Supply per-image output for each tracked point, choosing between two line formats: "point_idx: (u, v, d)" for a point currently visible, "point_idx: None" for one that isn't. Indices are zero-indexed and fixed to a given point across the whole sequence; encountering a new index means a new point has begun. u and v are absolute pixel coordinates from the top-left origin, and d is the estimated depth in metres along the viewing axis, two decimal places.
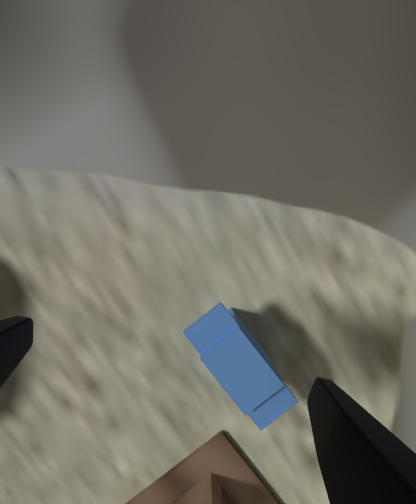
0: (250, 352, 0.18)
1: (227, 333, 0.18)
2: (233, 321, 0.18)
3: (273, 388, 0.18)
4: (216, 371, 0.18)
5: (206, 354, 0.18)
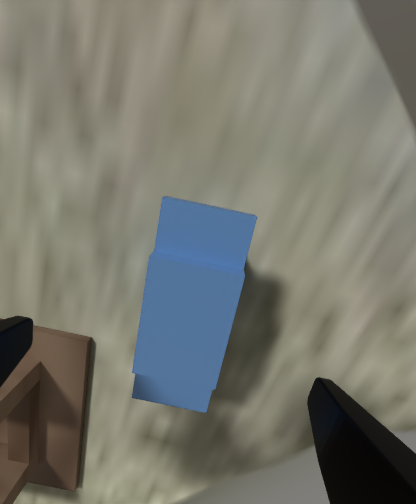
0: (222, 317, 0.10)
1: (218, 263, 0.10)
2: (244, 257, 0.10)
3: (199, 380, 0.10)
4: (153, 292, 0.09)
5: (164, 258, 0.09)
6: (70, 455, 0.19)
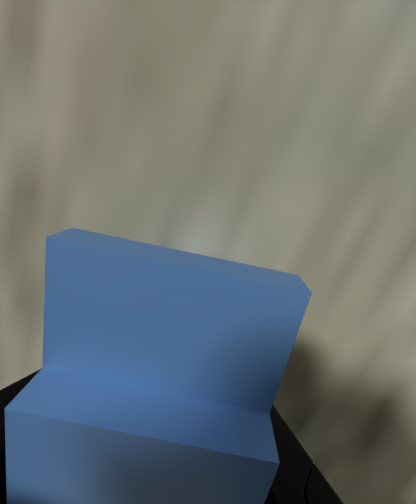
0: None
1: (207, 400, 0.04)
2: (271, 388, 0.04)
3: None
4: (30, 490, 0.04)
5: (50, 410, 0.03)
6: None
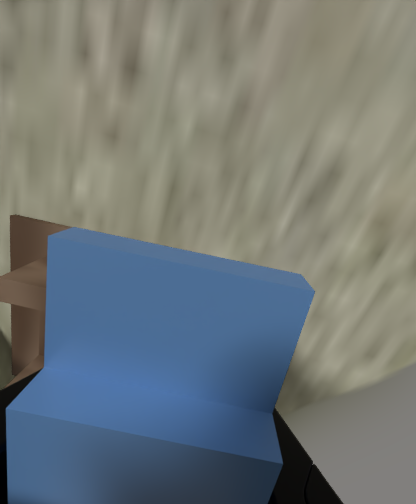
0: None
1: (209, 400, 0.04)
2: (274, 388, 0.04)
3: None
4: (31, 490, 0.03)
5: (52, 411, 0.03)
6: None
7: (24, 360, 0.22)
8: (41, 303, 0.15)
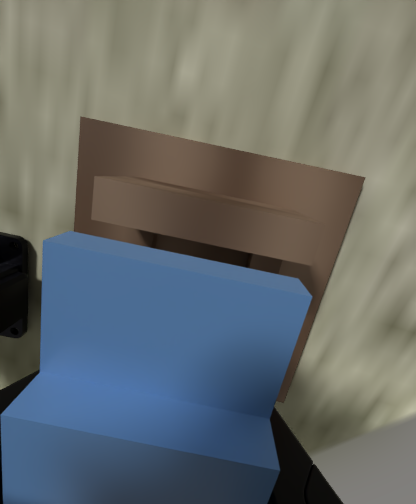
0: None
1: (206, 405, 0.04)
2: (271, 393, 0.04)
3: None
4: (27, 496, 0.03)
5: (47, 417, 0.03)
6: None
7: None
8: (162, 221, 0.09)
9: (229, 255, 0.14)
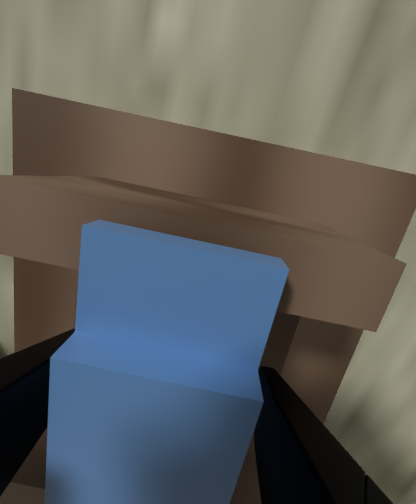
0: (214, 473, 0.05)
1: (207, 358, 0.05)
2: (259, 348, 0.05)
3: None
4: (66, 427, 0.04)
5: (85, 360, 0.04)
6: (315, 410, 0.11)
7: None
8: None
9: None
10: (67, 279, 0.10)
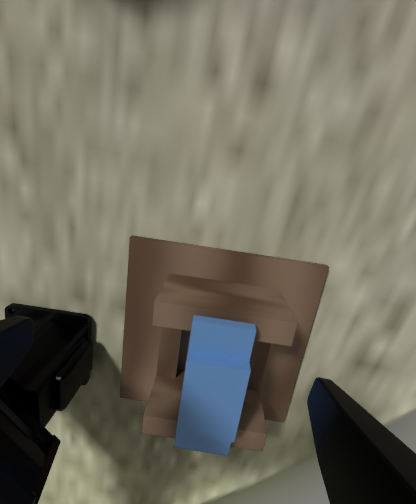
0: (236, 396, 0.14)
1: (232, 358, 0.14)
2: (249, 354, 0.14)
3: (222, 436, 0.15)
4: (189, 383, 0.14)
5: (196, 361, 0.14)
6: (287, 384, 0.21)
7: (133, 381, 0.21)
8: None
9: None
10: (152, 322, 0.20)
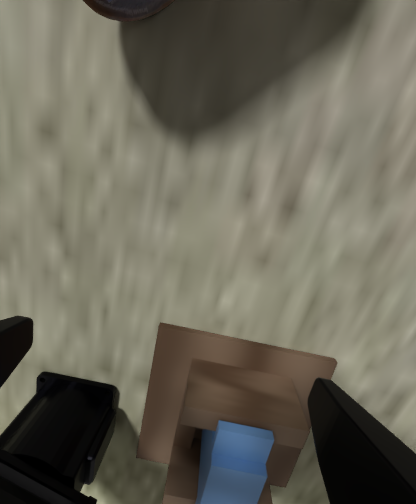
0: (253, 494, 0.16)
1: (250, 461, 0.16)
2: (265, 458, 0.16)
3: None
4: (212, 482, 0.16)
5: (219, 465, 0.16)
6: (291, 456, 0.23)
7: (150, 445, 0.23)
8: None
9: None
10: (172, 397, 0.22)
